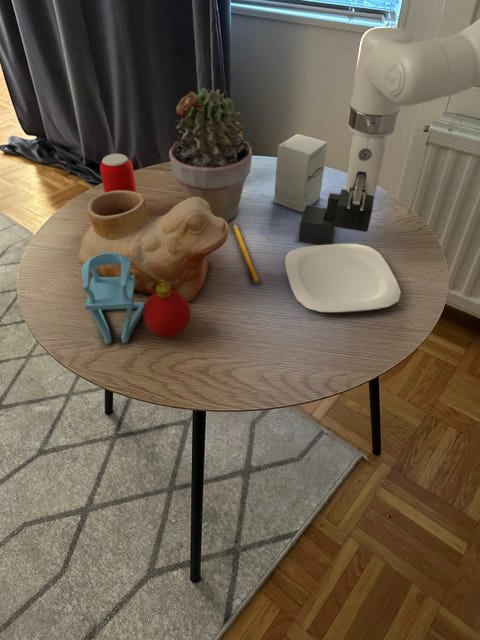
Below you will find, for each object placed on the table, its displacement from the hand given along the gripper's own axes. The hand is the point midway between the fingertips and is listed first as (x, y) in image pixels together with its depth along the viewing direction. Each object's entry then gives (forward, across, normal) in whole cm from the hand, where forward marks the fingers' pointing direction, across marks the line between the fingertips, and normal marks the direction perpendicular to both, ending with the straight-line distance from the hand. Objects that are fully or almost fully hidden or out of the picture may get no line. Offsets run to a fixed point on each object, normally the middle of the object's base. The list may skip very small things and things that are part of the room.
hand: (353, 216), depth 89 cm
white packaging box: (+6, +12, +12) cm, 18 cm away
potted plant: (+6, +4, +28) cm, 29 cm away
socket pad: (+5, 0, +6) cm, 8 cm away
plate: (+5, -13, 0) cm, 14 cm away
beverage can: (+6, -3, +45) cm, 46 cm away
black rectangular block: (+1, 0, 0) cm, 1 cm away
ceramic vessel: (+6, -20, +31) cm, 38 cm away
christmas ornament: (+5, -32, +24) cm, 41 cm away
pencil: (+6, -9, +18) cm, 21 cm away
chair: (+6, -33, +32) cm, 47 cm away
